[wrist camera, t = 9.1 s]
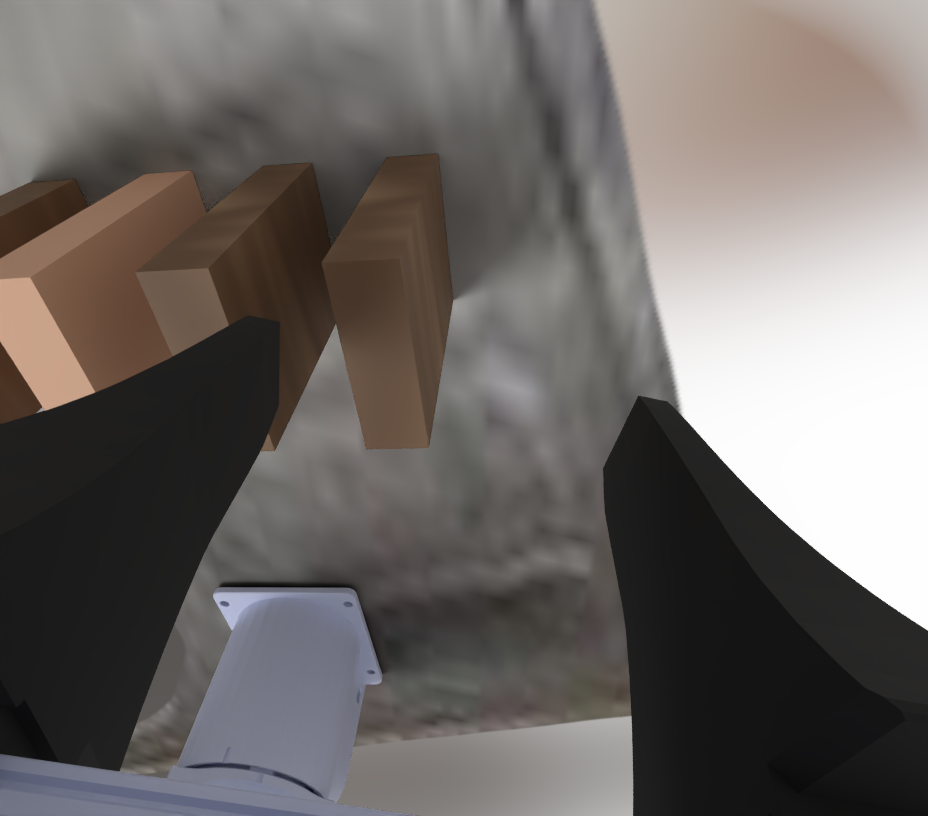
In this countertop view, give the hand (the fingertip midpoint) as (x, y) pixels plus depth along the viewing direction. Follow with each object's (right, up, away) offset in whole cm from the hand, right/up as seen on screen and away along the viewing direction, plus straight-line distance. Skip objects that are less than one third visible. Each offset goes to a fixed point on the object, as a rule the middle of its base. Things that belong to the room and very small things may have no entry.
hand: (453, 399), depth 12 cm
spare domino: (-9, +5, +9) cm, 14 cm away
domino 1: (-1, +6, +8) cm, 10 cm away
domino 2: (-5, +6, +8) cm, 11 cm away
